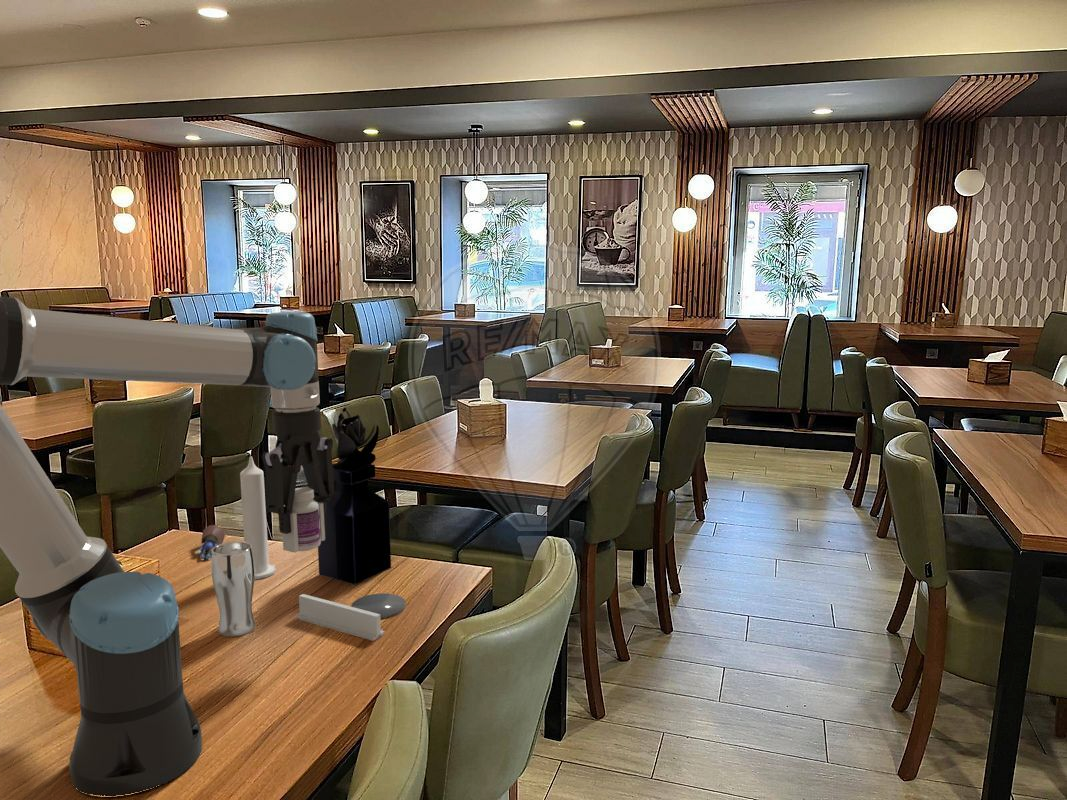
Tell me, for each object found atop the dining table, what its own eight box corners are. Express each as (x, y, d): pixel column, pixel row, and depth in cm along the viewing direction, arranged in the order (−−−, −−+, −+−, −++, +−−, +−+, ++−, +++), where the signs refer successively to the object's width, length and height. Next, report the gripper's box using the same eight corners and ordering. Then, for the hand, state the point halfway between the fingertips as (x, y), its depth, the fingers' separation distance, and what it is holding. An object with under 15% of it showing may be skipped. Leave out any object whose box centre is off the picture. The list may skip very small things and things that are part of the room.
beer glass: (243, 640, 133) (238, 556, 130) (207, 636, 134) (201, 553, 132) (265, 622, 139) (260, 542, 137) (230, 618, 141) (225, 539, 138)
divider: (373, 641, 132) (372, 618, 132) (295, 618, 141) (294, 597, 140) (384, 633, 135) (384, 612, 134) (308, 612, 143) (306, 591, 143)
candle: (268, 579, 158) (261, 460, 154) (234, 579, 159) (226, 460, 154) (280, 566, 165) (274, 452, 161) (247, 566, 166) (240, 452, 161)
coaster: (382, 623, 139) (382, 620, 139) (339, 611, 144) (339, 608, 143) (416, 602, 148) (416, 599, 147) (375, 592, 152) (375, 589, 152)
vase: (361, 553, 173) (355, 398, 168) (400, 563, 167) (395, 403, 162) (312, 574, 161) (304, 408, 156) (353, 586, 155) (346, 414, 150)
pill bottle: (328, 544, 130) (325, 489, 129) (303, 554, 126) (299, 497, 124) (305, 538, 133) (302, 484, 132) (280, 548, 129) (277, 492, 127)
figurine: (219, 567, 170) (228, 541, 181) (217, 546, 169) (226, 520, 180) (193, 569, 169) (203, 542, 180) (190, 548, 168) (200, 522, 179)
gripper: (269, 420, 116) (278, 567, 120) (352, 401, 132) (359, 531, 136) (234, 415, 120) (244, 559, 124) (319, 397, 135) (326, 525, 139)
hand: (304, 544), depth 130 cm, fingers closed on pill bottle, 5 cm apart
